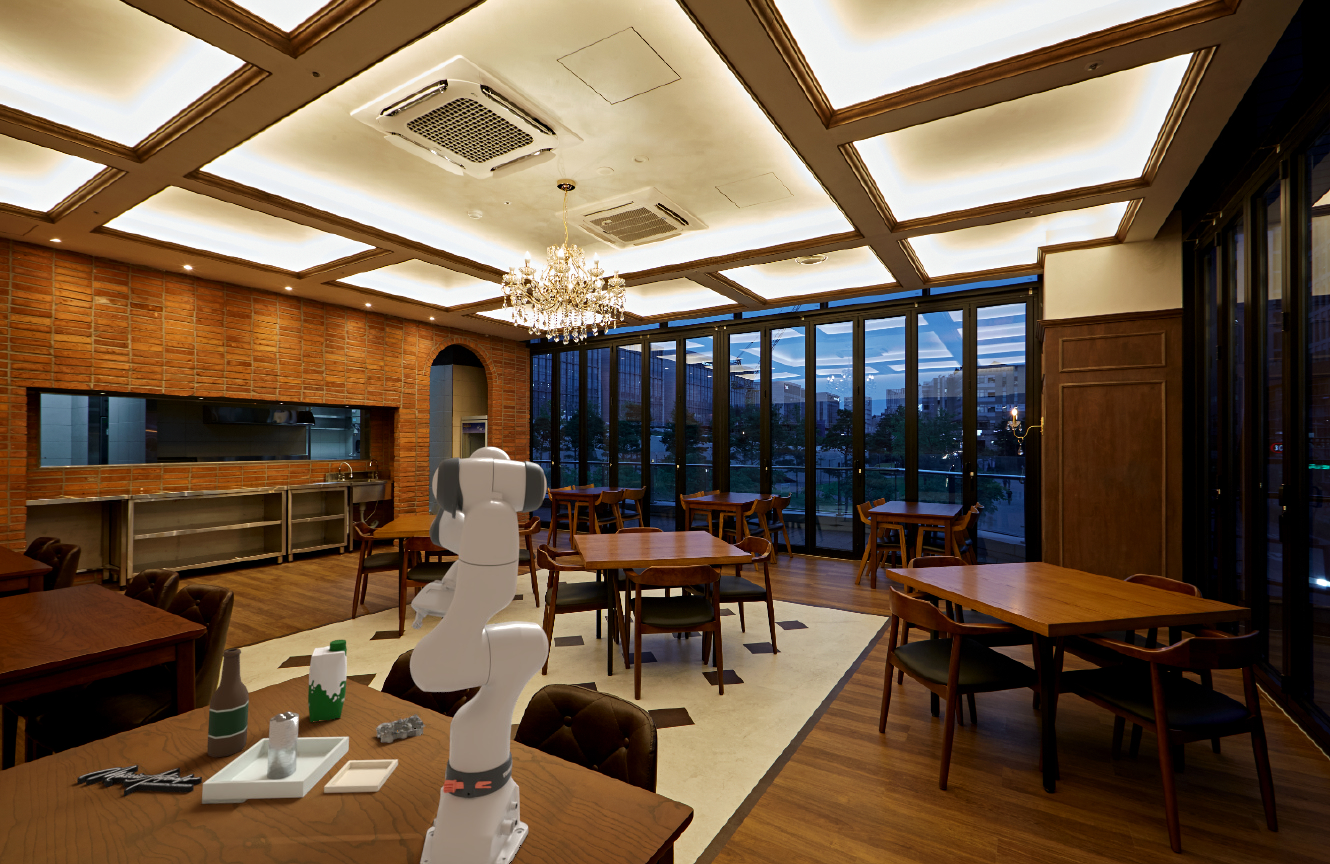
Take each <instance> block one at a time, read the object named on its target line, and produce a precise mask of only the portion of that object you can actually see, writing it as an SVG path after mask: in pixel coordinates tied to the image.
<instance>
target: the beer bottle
mask: <svg viewBox="0 0 1330 864" xmlns="http://www.w3.org/2000/svg"><path fill="white" fill-rule="evenodd" d="M241 654H242V650H241V649H240V648H236V647H235V648H230V649H226V650H224V651H223V653H222V657H223V662H222V668H221V669H222V671H221V675H220V676H221V678H220V681H219V682H220V683H219V685H218V687H217V688H216V690H215V691H214V693H213V695H212V697H211V699H210V702H209V711H208V712H209V713H208V729H207V756H210V757H213V758H215V759H216V758H223V757H229V756H233V755H235V754H237V753H239V752H241V751H243V750H244V748H245V746H246V744H247V739H248V738H247V737H248V722H249V720H248V719H249V702H250V701H249V699H250V698H249V690H248V688H247V686H246V685H245V684H244V683H243V682H242V676H241V659H240V658H241Z"/></svg>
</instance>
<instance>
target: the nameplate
mask: <svg viewBox="0 0 1330 864" xmlns="http://www.w3.org/2000/svg"><path fill="white" fill-rule="evenodd" d="M138 771H139V765H138V764H136V765H129V766H126V767H121V766H116V767H111V768H105V769H99V770H96V771H93V772H89V773H86V774H82V775H79V776H78V777H77V782H76V784H77V785H83V784H85V786H91V785H95V784H98V783H100V782H102V784H103V785H104V787H105V788H110V787H112V786H113V785H114V784H121V785H122V787H123V788H124V790H123V796H124V797H127V796H129V795H131V794H133V793H135V792H138V791H139V792H141V791H142V792H158V793H159V792H163V793H182V794H184V793H185V794H187V793H189V794H190V793H192V792H194V788H195V785H201V784H203V777H202V776H198V777H197V776H195V773H191V774H188V775H185V776H181V767H177V768H173V769H170V770H167V771H163V772H159V773H156V774H145V773H144V772H142V773H141V772H140V773H139V774H137V772H138Z"/></svg>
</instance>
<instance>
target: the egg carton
mask: <svg viewBox="0 0 1330 864" xmlns="http://www.w3.org/2000/svg"><path fill="white" fill-rule="evenodd" d="M424 727H426V724H424V722H423V720H422V719H421V717H419V715H418V714H416V713H415V714H414V715H412V716H409V717H404V718H403V719H402V718H399V719H398V720H394V721H391V722H382V723H380V724H379V725H377V727H375V730H376V737H377V739H380V743H388V744H389V743H393V742H394V740H397V739H402V740H403V739H407V738H408V737H421V736H422V735H423V734H424ZM414 728H416V729H414ZM397 730H398V732H397ZM421 734H422V735H421Z"/></svg>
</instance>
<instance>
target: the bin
mask: <svg viewBox="0 0 1330 864" xmlns="http://www.w3.org/2000/svg"><path fill="white" fill-rule="evenodd" d="M349 741H350V736H323V737H322V736H321V737H320V736H318V737H316V736H315V737H311V736H310V737H298V743H297V763H296V771H295V773H293V774H292V775H290V776H288V777H285V778H282V779H275V780H274V779H268V778H267V764H268V745H269V737H267V738H266V737H265V738H261V739H260V740H259V741H258V742H256V743H255V744H253V745H252V746H251V747H249V749H247V750H245V752H243V753H241V754H240V755H239V756H237V757H236V758H235V759H234V760H232V761H231V762H229V763H228V764H227V765H225V766H224V767H223V768H222V769H220V770H219V771H217V772H216V773H215V774H214V775H212V776H211V777H210V778H208V779H207V780H205V782H202V792H201V793H202V797H201V805H202V804H203V805H204V804H208V805H209V804H235V803H236V804H239V803H240V804H243V803H245V802H246V801H247V800H248V799H249V800H251V799H253V800H254V799H285V798H286V799H287V798H288V799H290V798H295V799H296V798H304V797H305V796H306V795H307V794H308V793H309V792H310V791H311V790H312V789H313V788H314V786H315V785H317V783H318V782H319V781H320V780H321V779H322V778H323V777H324V776H325V775H327V773H328V772H330V770H331V769H332V768H333V767H334V766H335V765H336V764H337V763H338V762H339V761H340V760H341V759H342V757H344V756H345V755H346V754H347V753H348V752H349V747H350V746H349V744H350V742H349Z"/></svg>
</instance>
